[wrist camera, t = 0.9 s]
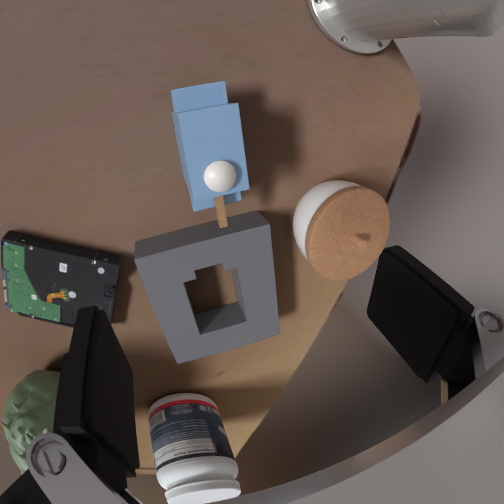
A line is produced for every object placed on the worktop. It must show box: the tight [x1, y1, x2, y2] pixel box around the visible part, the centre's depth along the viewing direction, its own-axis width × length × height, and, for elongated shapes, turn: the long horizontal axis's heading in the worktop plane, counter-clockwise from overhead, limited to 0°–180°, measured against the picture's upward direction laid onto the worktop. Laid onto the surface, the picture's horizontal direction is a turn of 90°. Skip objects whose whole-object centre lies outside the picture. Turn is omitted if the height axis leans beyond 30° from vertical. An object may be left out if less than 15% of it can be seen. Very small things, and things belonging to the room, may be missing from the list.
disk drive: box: [1, 231, 121, 328], centre depth 29 cm, size 10×3×15 cm
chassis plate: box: [134, 211, 280, 364], centre depth 34 cm, size 14×16×4 cm
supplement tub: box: [147, 393, 241, 504], centre depth 39 cm, size 13×13×18 cm
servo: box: [171, 81, 249, 228], centre depth 25 cm, size 13×4×9 cm, turn 7°
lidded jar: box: [293, 180, 390, 281], centre depth 32 cm, size 11×11×9 cm
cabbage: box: [1, 370, 60, 474], centre depth 28 cm, size 16×19×20 cm
